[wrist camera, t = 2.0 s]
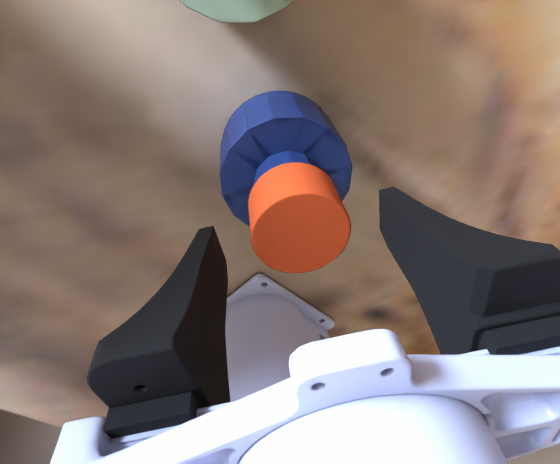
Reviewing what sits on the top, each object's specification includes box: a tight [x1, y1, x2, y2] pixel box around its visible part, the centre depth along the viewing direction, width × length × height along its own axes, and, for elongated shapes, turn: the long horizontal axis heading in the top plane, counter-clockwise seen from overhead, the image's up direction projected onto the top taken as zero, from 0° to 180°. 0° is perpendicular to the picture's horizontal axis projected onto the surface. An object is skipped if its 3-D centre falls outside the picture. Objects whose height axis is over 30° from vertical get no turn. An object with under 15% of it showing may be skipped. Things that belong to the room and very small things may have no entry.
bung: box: [248, 162, 351, 273], centre depth 17 cm, size 4×4×4 cm
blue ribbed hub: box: [220, 91, 352, 227], centre depth 20 cm, size 7×7×6 cm
